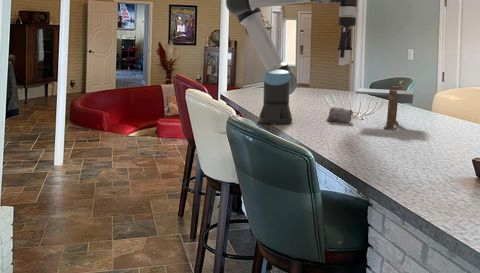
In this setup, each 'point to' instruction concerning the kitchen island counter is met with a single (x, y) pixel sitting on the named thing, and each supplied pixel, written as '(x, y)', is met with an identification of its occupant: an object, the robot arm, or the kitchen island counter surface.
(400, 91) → the trapdoor
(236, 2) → the robot arm
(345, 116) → the stone
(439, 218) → the kitchen island counter surface
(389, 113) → the frame
